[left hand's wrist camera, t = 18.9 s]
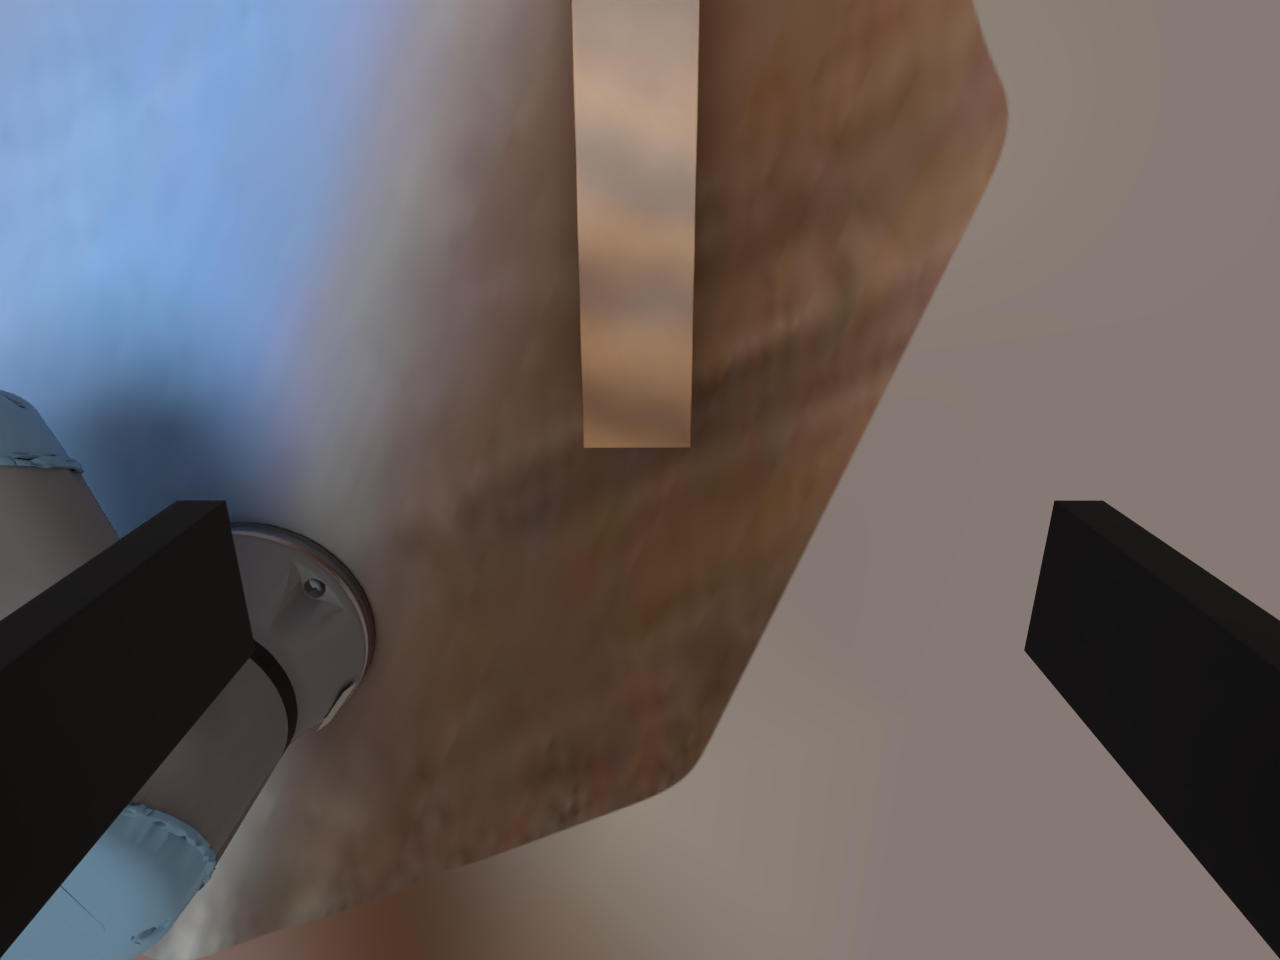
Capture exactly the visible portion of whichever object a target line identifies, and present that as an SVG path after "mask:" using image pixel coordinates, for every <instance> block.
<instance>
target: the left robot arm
mask: <svg viewBox="0 0 1280 960" xmlns="http://www.w3.org/2000/svg"><path fill="white" fill-rule="evenodd" d="M83 472H84V471H83V469H82V467H81V465H80V464H79V463H78V462H77V461H75V460H73V459H70V458H69V457H68V455H67V454H66V452H65V451H64V449H63V448H62V446H61V445H60V443H59V442H58V440H57V439H56V437H55V436H54V435H53V433H52V432H51V430H50V429H49V427H48V426H47V424H46V423H45V421H44V420H43V418H42V417H41V415H40V414H39V413H38V411H37V410H36V409H35V408H34V407H33V406H32V405H31V404H30V403H29V402H27V401H26V400H24V399H23V398H21V397H19V396H17V395H15V394H12V393H9V392H6V391H2V390H0V960H131V959H133V958H135V957H136V956H138V955H140V954H142V953H143V952H145V951H146V950H148V949H149V948H150V947H152V946H153V945H154V944H156V943H157V942H158V941H159V940H160V939H161V938H162V937H163V936H164V935H165V934H166V933H167V932H168V931H169V929H170V928H171V927H172V925H173V924H174V923H175V921H176V920H177V918H178V917H179V915H180V914H181V913H182V911H183V910H184V909H185V907H186V906H187V905H188V903H189V902H190V901H191V899H192V898H193V897H194V895H195V894H196V893H197V891H199V890H200V889H201V888H202V887H203V886H204V885H205V884H206V883H207V882H208V881H209V879H210V878H211V876H212V874H213V871H214V870H215V866H216V864H217V862H218V861H219V859H220V858H221V856H222V854H223V853H224V851H225V849H226V848H227V846H228V844H229V843H230V841H231V839H232V838H233V836H234V834H235V833H236V831H237V829H238V828H239V826H240V825H241V823H242V821H243V820H244V818H245V816H246V815H247V813H248V811H249V810H250V808H251V806H252V805H253V803H254V801H255V800H256V798H257V796H258V795H259V793H260V791H261V790H262V788H263V787H264V785H265V783H266V782H267V780H268V778H269V777H270V775H271V773H272V772H273V770H274V768H275V767H276V765H277V763H278V762H279V760H280V758H281V757H282V755H283V754H284V752H285V750H286V749H287V747H288V746H289V744H291V743H292V742H293V741H295V740H296V739H297V738H299V737H300V736H301V735H302V734H304V733H305V732H306V731H308V730H309V729H310V728H311V727H313V726H315V725H317V724H319V723H320V722H322V721H323V720H324V721H323V723H322V724H321V726H320V727H319V729H318V730H320V729H321V728H322V727H324V726H325V725H326V724H328V723H329V722H330V721H331V720H332V718H333V717H334V715H335V714H336V713H337V711H338V710H339V708H341V707H342V706H343V705H344V704H345V703H346V702H347V701H348V700H349V699H350V697H351V696H352V694H353V693H354V692H355V690H356V688H357V687H358V685H359V683H360V681H361V680H362V678H363V676H364V674H365V673H366V671H367V669H368V666H369V664H370V662H371V658H372V655H373V649H374V641H375V631H374V622H373V617H372V613H371V610H370V607H369V604H368V602H367V599H366V597H365V595H364V593H363V591H362V589H361V588H360V586H359V585H358V583H357V582H356V580H355V579H354V577H353V576H352V575H351V574H350V572H349V571H348V570H347V569H346V568H345V567H344V566H343V565H342V564H341V563H340V562H339V561H338V560H337V559H336V558H335V557H334V556H333V555H331V554H330V553H329V552H327V551H326V550H325V549H323V548H322V547H320V546H319V545H317V544H315V543H314V542H312V541H310V540H308V539H306V538H304V537H302V536H300V535H298V534H295V533H293V532H291V531H288V530H284V529H281V528H278V527H273V526H269V525H263V524H256V523H231V524H230V521H229V516H228V511H227V506H226V501H176V502H174V503H173V504H172V505H170V506H169V507H167V508H166V509H164V510H163V511H161V512H160V513H158V514H157V515H155V516H154V517H152V518H151V519H149V520H148V521H146V522H145V523H144V524H142V525H141V526H139V527H138V528H136V529H135V530H133V531H132V532H130V533H129V534H127V535H126V536H124V537H123V538H121V539H120V538H119V537H118V535H117V533H116V532H115V530H114V528H113V527H112V525H111V523H110V522H109V520H108V518H107V517H106V515H105V513H104V512H103V510H102V508H101V507H100V505H99V503H98V502H97V500H96V498H95V497H94V495H93V493H92V492H91V490H90V488H89V487H88V485H87V483H86V482H85V480H84V478H83V477H82V475H81V474H82V473H83ZM1025 652H1026V653H1027V654H1028V655H1029V657H1030V658H1031V659H1032V660H1033V661H1034V663H1035V664H1036V665H1037V666H1038V667H1039V669H1040V670H1041V671H1042V672H1043V673H1044V675H1045V676H1046V677H1047V678H1048V679H1049V681H1050V682H1051V683H1052V684H1053V685H1054V687H1055V688H1056V689H1057V690H1058V691H1059V693H1060V694H1061V695H1062V696H1063V698H1064V699H1065V700H1066V701H1067V702H1068V704H1069V705H1070V706H1071V707H1072V708H1073V710H1074V711H1075V712H1076V713H1077V714H1078V716H1079V717H1080V718H1081V719H1082V720H1083V722H1084V723H1085V724H1086V725H1087V727H1088V728H1089V729H1090V730H1091V731H1092V733H1093V734H1094V735H1095V736H1096V737H1097V739H1098V740H1099V741H1100V742H1101V743H1102V745H1103V746H1104V747H1105V748H1106V749H1107V751H1108V752H1109V753H1110V754H1111V755H1112V757H1113V758H1114V759H1115V760H1116V761H1117V763H1118V764H1119V765H1120V766H1121V768H1122V769H1123V770H1124V771H1125V772H1126V774H1127V775H1128V776H1129V777H1130V778H1131V780H1132V781H1133V782H1134V783H1135V784H1136V786H1137V787H1138V788H1139V789H1140V791H1141V792H1142V793H1143V794H1144V795H1145V797H1146V798H1147V799H1148V800H1149V801H1150V803H1151V804H1152V805H1153V806H1154V807H1155V809H1156V810H1157V811H1158V812H1159V813H1160V815H1161V816H1162V817H1163V818H1164V819H1165V821H1166V822H1167V823H1168V824H1169V825H1170V827H1171V828H1172V829H1173V830H1174V832H1175V833H1176V834H1177V835H1178V836H1179V838H1180V839H1181V840H1182V841H1183V842H1184V844H1185V845H1186V846H1187V847H1188V848H1189V850H1190V851H1191V852H1192V853H1193V854H1194V856H1195V857H1196V858H1197V859H1198V861H1199V862H1200V863H1201V864H1202V865H1203V867H1204V868H1205V869H1206V870H1207V871H1208V873H1209V874H1210V875H1211V876H1212V877H1213V879H1214V880H1215V881H1216V882H1217V883H1218V885H1219V886H1220V887H1221V888H1222V889H1223V891H1224V892H1225V893H1226V894H1227V896H1228V897H1229V898H1230V899H1231V900H1232V902H1233V903H1234V904H1235V905H1236V906H1237V908H1238V909H1239V910H1240V911H1241V912H1242V914H1243V915H1244V916H1245V917H1246V918H1247V920H1248V921H1249V922H1250V923H1251V924H1252V926H1253V927H1254V928H1255V929H1256V931H1257V932H1258V933H1259V934H1260V935H1261V937H1262V938H1263V939H1264V940H1265V941H1266V943H1267V944H1268V945H1269V946H1270V947H1271V949H1272V950H1273V951H1274V952H1275V953H1276V955H1277V956H1278V957H1279V958H1280V621H1279V620H1278V619H1276V618H1275V617H1273V616H1272V615H1270V614H1269V613H1268V612H1266V611H1265V610H1263V609H1262V608H1260V607H1259V606H1257V605H1256V604H1254V603H1253V602H1251V601H1250V600H1248V599H1247V598H1245V597H1244V596H1242V595H1241V594H1240V593H1238V592H1237V591H1235V590H1234V589H1232V588H1231V587H1229V586H1228V585H1226V584H1225V583H1223V582H1222V581H1220V580H1219V579H1217V578H1216V577H1215V576H1213V575H1212V574H1210V573H1209V572H1207V571H1206V570H1204V569H1203V568H1201V567H1200V566H1198V565H1197V564H1195V563H1194V562H1192V561H1191V560H1189V559H1188V558H1187V557H1185V556H1184V555H1182V554H1181V553H1179V552H1178V551H1176V550H1175V549H1173V548H1172V547H1170V546H1169V545H1167V544H1166V543H1164V542H1163V541H1161V540H1160V539H1159V538H1157V537H1156V536H1154V535H1153V534H1151V533H1150V532H1148V531H1147V530H1145V529H1144V528H1142V527H1141V526H1139V525H1138V524H1136V523H1135V522H1133V521H1132V520H1131V519H1129V518H1128V517H1126V516H1125V515H1123V514H1122V513H1120V512H1119V511H1117V510H1116V509H1114V508H1113V507H1111V506H1110V505H1108V504H1107V503H1106V502H1104V501H1054V506H1053V511H1052V516H1051V521H1050V526H1049V531H1048V536H1047V541H1046V545H1045V550H1044V555H1043V560H1042V565H1041V570H1040V575H1039V580H1038V585H1037V590H1036V595H1035V600H1034V605H1033V610H1032V615H1031V620H1030V625H1029V630H1028V635H1027V640H1026V645H1025ZM318 730H317V731H318Z"/></svg>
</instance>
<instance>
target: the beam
mask: <svg viewBox="0 0 1280 960" xmlns="http://www.w3.org/2000/svg"><path fill="white" fill-rule="evenodd" d="M571 28H572V63H573V98H574V132H575V167H576V201H577V236H578V270H579V305H580V339H581V374H582V408H583V443H584V448H690V447H691V407H692V361H693V316H694V270H695V224H696V179H697V133H698V88H699V42H700V0H571Z"/></svg>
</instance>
